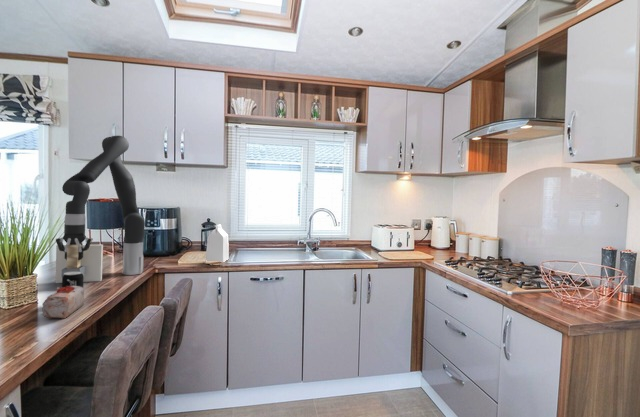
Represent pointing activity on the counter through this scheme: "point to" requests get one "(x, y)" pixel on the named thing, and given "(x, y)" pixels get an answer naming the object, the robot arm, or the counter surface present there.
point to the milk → (218, 245)
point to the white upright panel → (82, 264)
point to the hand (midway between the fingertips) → (73, 259)
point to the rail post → (73, 257)
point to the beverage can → (73, 279)
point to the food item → (63, 302)
